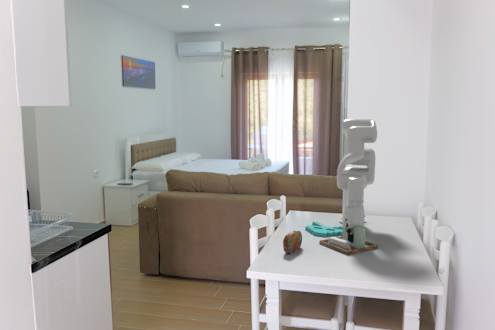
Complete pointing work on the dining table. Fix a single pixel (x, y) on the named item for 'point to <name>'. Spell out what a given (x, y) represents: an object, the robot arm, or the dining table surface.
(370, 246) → the rack
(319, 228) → the alien figure
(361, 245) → the sage panel
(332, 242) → the grey offcut
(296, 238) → the tin
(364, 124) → the robot arm
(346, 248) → the pine offcut
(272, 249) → the dining table surface
